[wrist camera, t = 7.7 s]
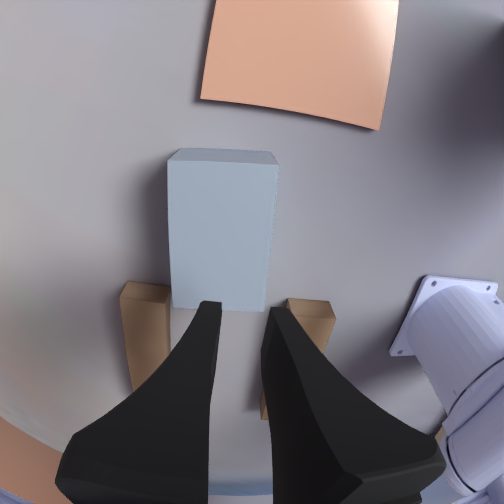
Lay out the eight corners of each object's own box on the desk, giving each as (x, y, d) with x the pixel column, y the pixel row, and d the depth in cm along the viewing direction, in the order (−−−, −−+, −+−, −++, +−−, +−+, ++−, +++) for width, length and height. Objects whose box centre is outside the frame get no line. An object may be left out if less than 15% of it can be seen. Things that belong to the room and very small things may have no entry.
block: (270, 151, 17) (279, 165, 14) (259, 274, 21) (263, 311, 18) (181, 147, 17) (167, 160, 14) (182, 271, 21) (172, 307, 17)
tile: (395, -15, 12) (400, -17, 12) (374, 129, 17) (379, 130, 16) (229, -55, 11) (229, -59, 11) (201, 98, 16) (200, 98, 15)
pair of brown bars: (329, 301, 22) (336, 318, 20) (291, 403, 27) (294, 420, 26) (127, 280, 21) (119, 297, 19) (140, 390, 26) (136, 407, 24)
